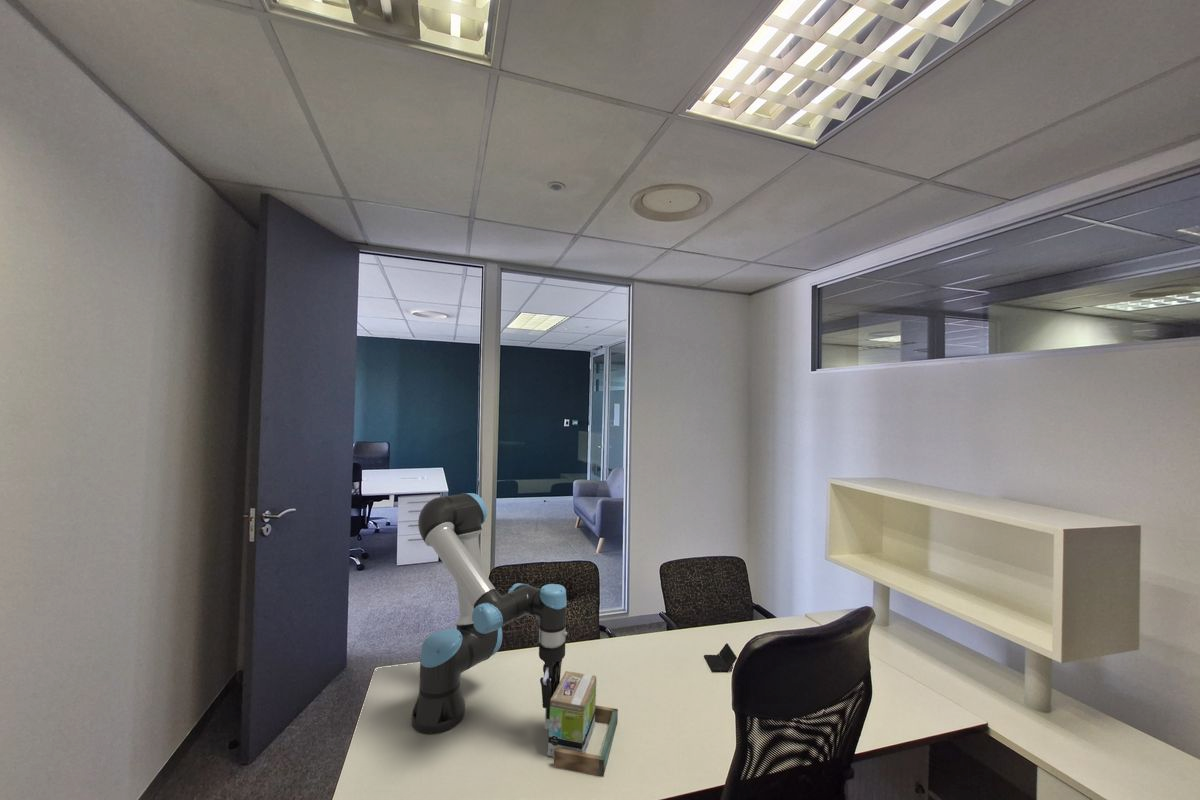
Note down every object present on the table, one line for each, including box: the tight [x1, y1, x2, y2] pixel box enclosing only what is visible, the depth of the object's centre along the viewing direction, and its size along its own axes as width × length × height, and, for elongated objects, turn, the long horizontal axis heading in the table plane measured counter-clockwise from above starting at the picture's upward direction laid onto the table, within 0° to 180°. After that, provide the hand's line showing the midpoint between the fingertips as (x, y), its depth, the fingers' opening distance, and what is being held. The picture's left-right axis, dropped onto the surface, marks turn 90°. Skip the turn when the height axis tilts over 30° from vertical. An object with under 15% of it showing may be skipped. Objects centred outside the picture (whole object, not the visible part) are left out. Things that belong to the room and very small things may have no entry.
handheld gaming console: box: [703, 642, 738, 674], centre depth 165 cm, size 12×7×10 cm
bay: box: [553, 705, 619, 777], centre depth 123 cm, size 13×21×4 cm, turn 168°
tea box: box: [547, 671, 597, 758], centre depth 125 cm, size 15×10×15 cm, turn 168°
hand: (550, 727), depth 125 cm, fingers closed
